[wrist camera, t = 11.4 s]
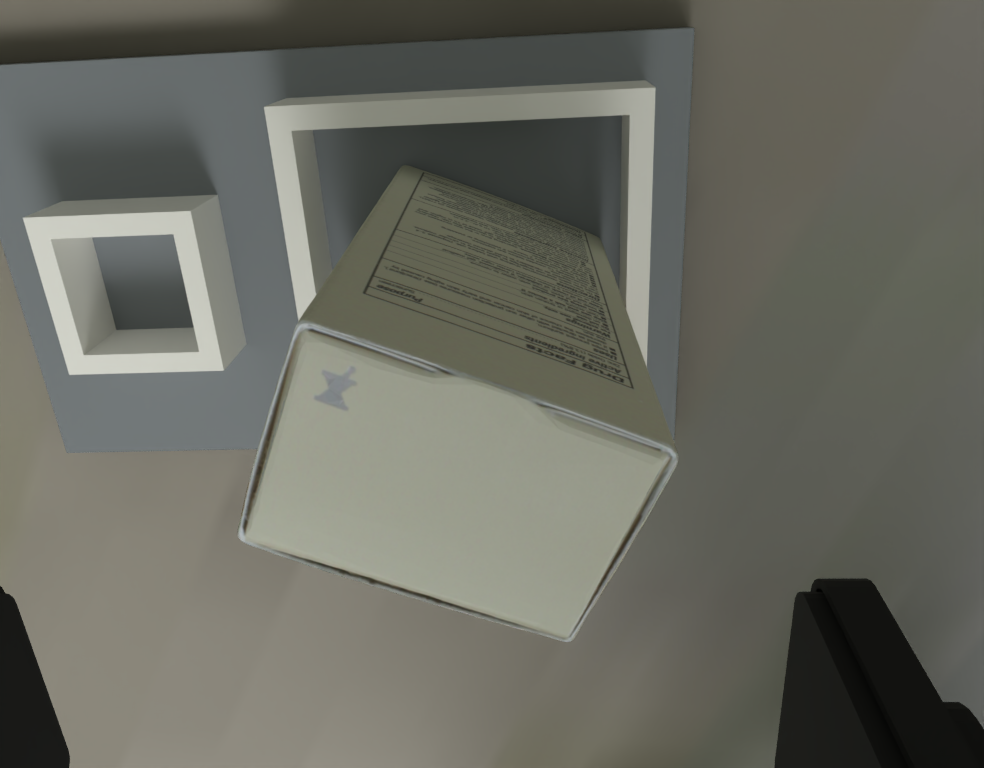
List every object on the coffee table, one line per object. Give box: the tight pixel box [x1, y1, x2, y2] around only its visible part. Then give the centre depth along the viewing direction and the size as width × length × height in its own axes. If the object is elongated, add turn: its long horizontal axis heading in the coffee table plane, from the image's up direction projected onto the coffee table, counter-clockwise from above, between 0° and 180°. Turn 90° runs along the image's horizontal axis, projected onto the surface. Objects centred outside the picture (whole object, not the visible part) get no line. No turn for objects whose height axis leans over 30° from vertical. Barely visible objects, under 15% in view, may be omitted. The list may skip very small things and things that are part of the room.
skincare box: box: [238, 165, 678, 642], centre depth 18 cm, size 6×4×12 cm
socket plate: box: [0, 27, 694, 453], centre depth 23 cm, size 20×12×3 cm, turn 93°
